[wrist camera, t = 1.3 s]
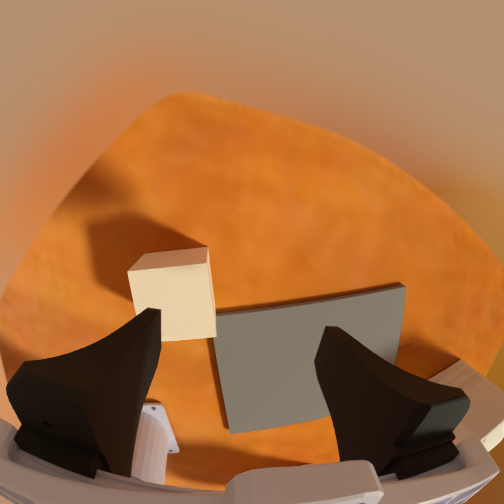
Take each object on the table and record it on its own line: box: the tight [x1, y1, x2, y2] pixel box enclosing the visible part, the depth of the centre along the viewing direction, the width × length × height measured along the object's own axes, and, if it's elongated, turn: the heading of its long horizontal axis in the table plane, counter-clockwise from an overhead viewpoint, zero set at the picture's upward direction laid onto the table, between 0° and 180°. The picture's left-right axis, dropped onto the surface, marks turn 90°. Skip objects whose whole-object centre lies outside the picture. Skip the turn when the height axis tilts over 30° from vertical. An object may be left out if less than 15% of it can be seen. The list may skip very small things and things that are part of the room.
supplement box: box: [428, 360, 504, 452], centre depth 24 cm, size 7×7×13 cm
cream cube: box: [127, 247, 217, 342], centre depth 20 cm, size 5×5×5 cm
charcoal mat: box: [213, 285, 406, 434], centre depth 26 cm, size 18×14×1 cm
